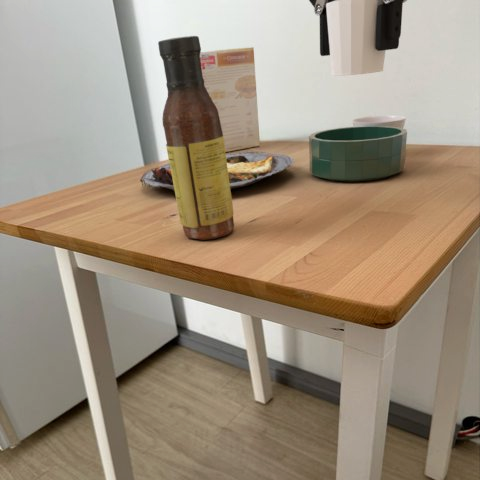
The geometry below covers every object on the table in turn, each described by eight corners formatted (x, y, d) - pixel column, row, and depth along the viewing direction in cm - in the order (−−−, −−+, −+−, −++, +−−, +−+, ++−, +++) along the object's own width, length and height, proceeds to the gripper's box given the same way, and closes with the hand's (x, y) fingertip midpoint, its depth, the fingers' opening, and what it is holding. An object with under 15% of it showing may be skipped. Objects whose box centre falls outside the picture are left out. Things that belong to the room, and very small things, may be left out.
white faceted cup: (335, 73, 57) (335, 4, 54) (394, 68, 54) (398, -5, 51) (318, 78, 52) (317, 1, 48) (382, 72, 49) (386, -9, 45)
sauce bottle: (240, 224, 57) (223, 34, 48) (227, 242, 52) (206, 32, 42) (189, 224, 59) (163, 40, 49) (172, 242, 54) (139, 40, 44)
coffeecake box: (245, 143, 111) (237, 48, 102) (261, 146, 106) (255, 46, 96) (187, 153, 105) (174, 53, 96) (201, 157, 100) (189, 51, 90)
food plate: (115, 196, 75) (110, 174, 74) (189, 165, 93) (187, 146, 91) (258, 203, 65) (256, 177, 63) (311, 166, 83) (310, 145, 81)
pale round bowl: (353, 152, 91) (354, 117, 88) (402, 150, 88) (405, 114, 85) (349, 162, 83) (350, 123, 80) (403, 160, 81) (406, 121, 78)
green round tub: (349, 160, 85) (350, 124, 82) (422, 168, 75) (426, 128, 72) (291, 176, 77) (290, 137, 74) (363, 188, 67) (365, 144, 64)
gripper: (476, -205, 39) (450, 43, 48) (319, -132, 51) (321, 55, 60) (426, -225, 35) (407, 48, 44) (268, -141, 47) (278, 60, 56)
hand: (357, 50), depth 52 cm, fingers closed on white faceted cup, 6 cm apart
